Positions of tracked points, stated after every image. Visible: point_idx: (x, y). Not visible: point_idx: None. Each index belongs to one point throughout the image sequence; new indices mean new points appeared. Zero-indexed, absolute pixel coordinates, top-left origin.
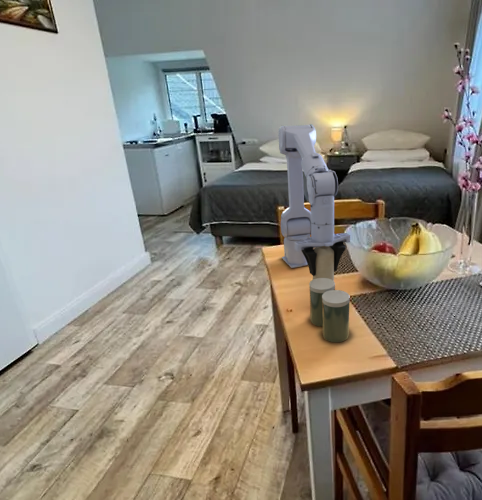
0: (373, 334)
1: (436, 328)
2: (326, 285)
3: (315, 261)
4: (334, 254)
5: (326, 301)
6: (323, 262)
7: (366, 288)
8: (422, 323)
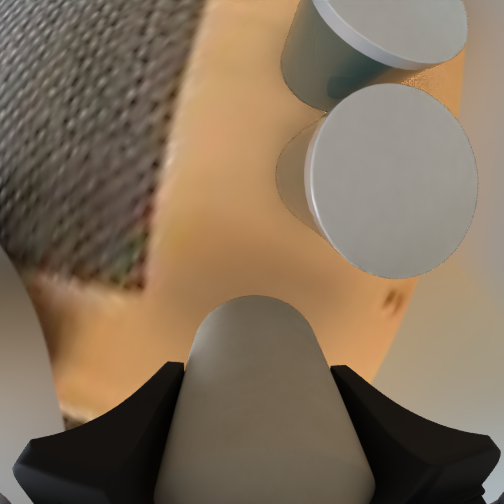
0: (204, 12)
1: (33, 3)
2: (398, 131)
3: (382, 423)
4: (152, 461)
5: None
6: (315, 401)
7: (54, 308)
8: (39, 28)
